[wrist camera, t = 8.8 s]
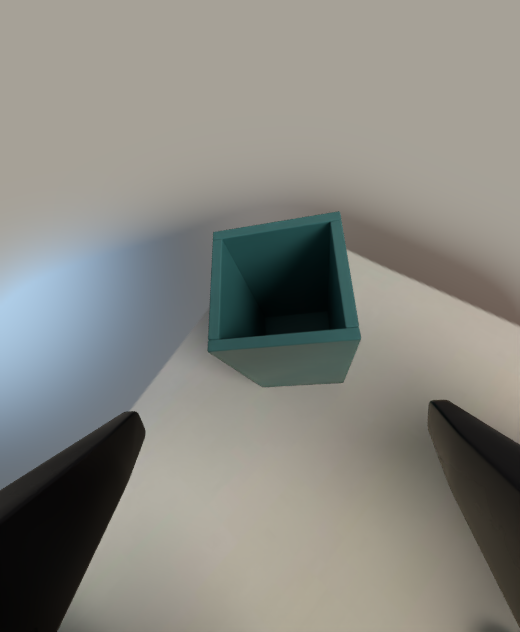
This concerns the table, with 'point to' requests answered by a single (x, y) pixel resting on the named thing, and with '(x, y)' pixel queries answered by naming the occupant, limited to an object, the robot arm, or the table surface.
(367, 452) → the table surface
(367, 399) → the table surface
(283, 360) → the bin
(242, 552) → the table surface
